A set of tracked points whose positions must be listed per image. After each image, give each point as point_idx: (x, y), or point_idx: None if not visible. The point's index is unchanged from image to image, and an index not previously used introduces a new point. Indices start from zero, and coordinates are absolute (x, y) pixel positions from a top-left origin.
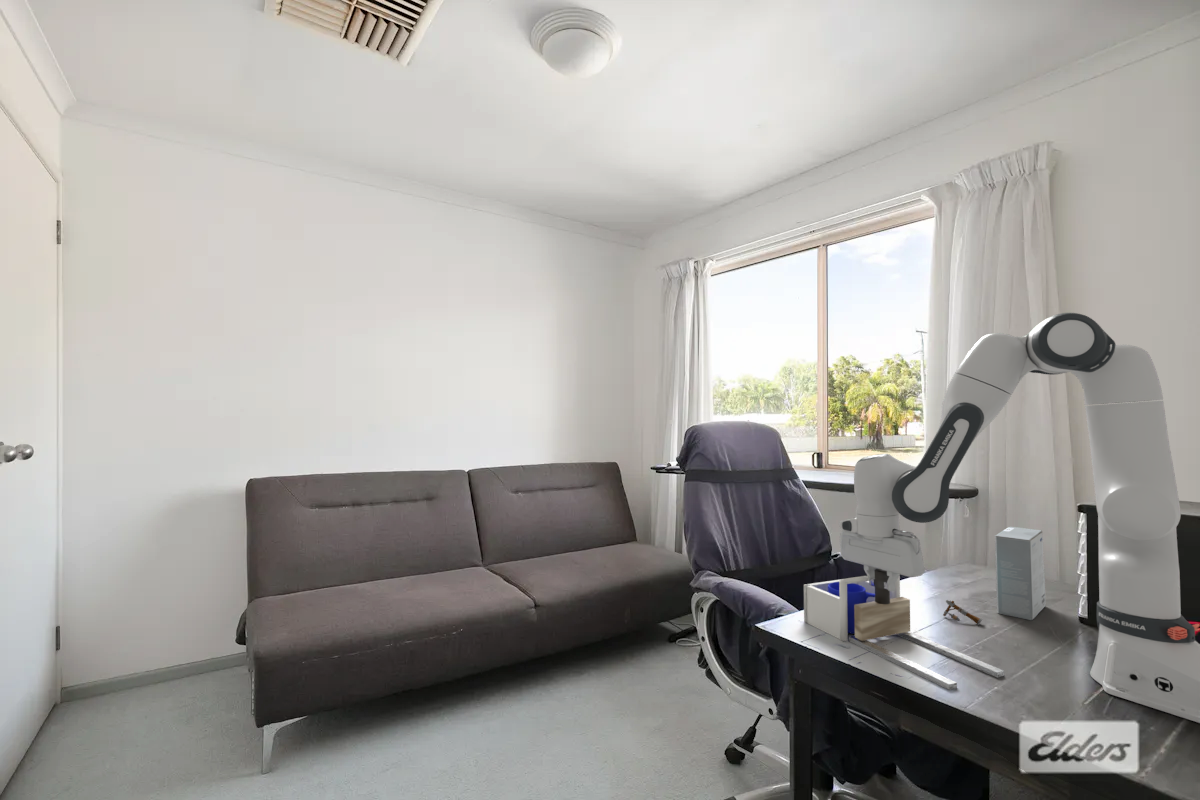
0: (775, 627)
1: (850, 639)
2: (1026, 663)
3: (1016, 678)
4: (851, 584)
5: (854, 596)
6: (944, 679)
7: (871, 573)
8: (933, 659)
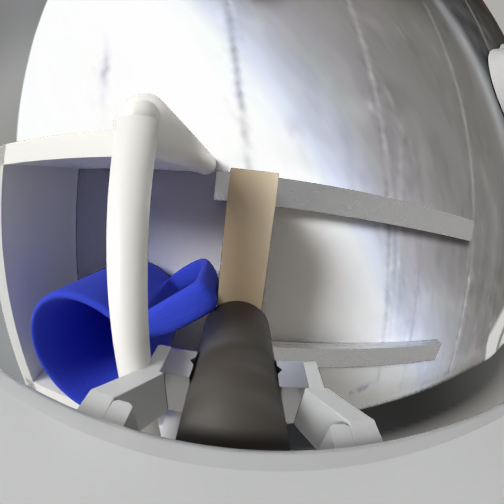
0: None
1: None
2: (459, 120)
3: (477, 210)
4: (52, 302)
5: None
6: (427, 352)
7: (145, 411)
8: (376, 269)
